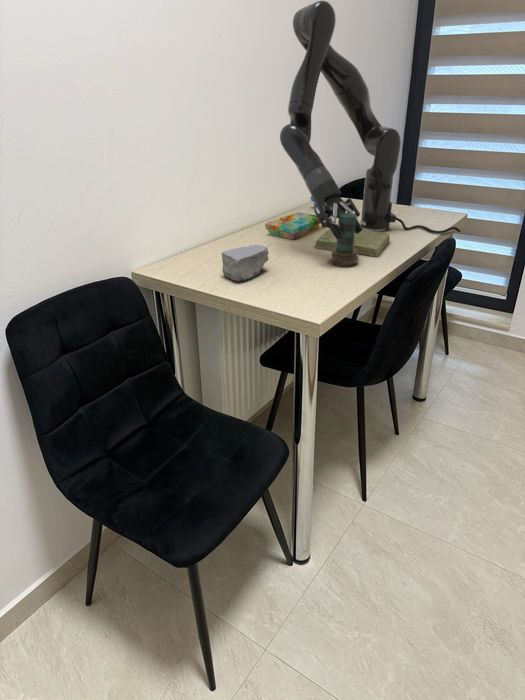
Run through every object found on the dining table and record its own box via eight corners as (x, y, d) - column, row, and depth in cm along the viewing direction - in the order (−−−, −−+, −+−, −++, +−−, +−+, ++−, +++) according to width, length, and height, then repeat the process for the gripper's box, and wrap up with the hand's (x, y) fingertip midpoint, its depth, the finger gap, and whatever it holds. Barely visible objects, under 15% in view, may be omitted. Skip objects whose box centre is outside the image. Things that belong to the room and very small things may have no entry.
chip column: (350, 246, 152) (353, 212, 147) (355, 251, 148) (358, 216, 143) (334, 247, 151) (337, 213, 146) (338, 252, 147) (341, 217, 142)
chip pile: (353, 258, 155) (354, 245, 153) (360, 266, 148) (362, 253, 146) (327, 259, 154) (328, 246, 152) (334, 268, 147) (335, 254, 146)
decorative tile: (376, 257, 156) (378, 245, 154) (314, 247, 164) (315, 236, 162) (392, 241, 170) (393, 230, 169) (334, 233, 178) (335, 222, 177)
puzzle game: (265, 221, 174) (297, 209, 188) (265, 234, 176) (297, 222, 190) (294, 226, 168) (325, 214, 182) (294, 241, 170) (324, 227, 184)
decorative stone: (216, 281, 139) (249, 285, 135) (214, 256, 135) (248, 259, 132) (240, 265, 150) (271, 268, 147) (238, 241, 147) (271, 244, 144)
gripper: (312, 181, 141) (341, 232, 139) (346, 175, 149) (374, 222, 148) (298, 198, 147) (325, 246, 145) (331, 191, 155) (357, 237, 154)
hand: (350, 234), depth 146 cm, fingers open, 8 cm apart
